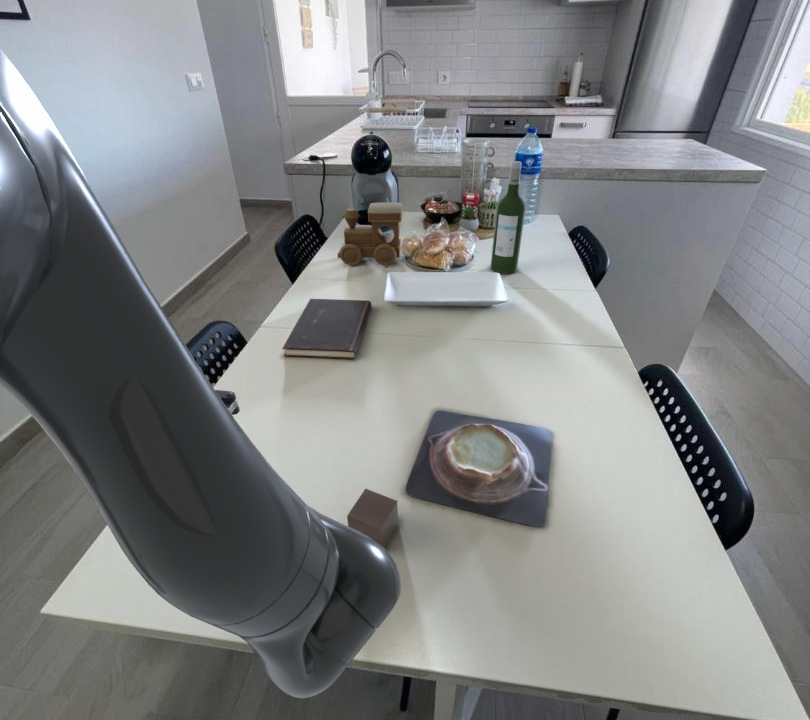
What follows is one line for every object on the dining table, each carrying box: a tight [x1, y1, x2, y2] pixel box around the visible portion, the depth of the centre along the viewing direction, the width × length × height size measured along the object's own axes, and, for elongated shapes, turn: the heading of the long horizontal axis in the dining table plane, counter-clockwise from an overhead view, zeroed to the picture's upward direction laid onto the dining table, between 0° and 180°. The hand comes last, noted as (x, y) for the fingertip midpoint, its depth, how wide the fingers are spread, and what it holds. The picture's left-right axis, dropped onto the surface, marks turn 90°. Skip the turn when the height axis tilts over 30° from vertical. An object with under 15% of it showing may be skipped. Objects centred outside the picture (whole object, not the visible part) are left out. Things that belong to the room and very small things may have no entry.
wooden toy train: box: [337, 201, 404, 267], centre depth 136 cm, size 20×11×17 cm, turn 88°
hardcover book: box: [282, 298, 373, 360], centre depth 106 cm, size 16×23×2 cm
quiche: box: [405, 410, 552, 528], centre depth 72 cm, size 21×20×4 cm
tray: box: [383, 271, 509, 307], centre depth 119 cm, size 17×31×4 cm, turn 88°
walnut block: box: [346, 488, 399, 548], centre depth 61 cm, size 5×5×5 cm
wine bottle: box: [490, 160, 527, 275], centre depth 126 cm, size 8×8×30 cm
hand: (149, 390), depth 51 cm, fingers closed
